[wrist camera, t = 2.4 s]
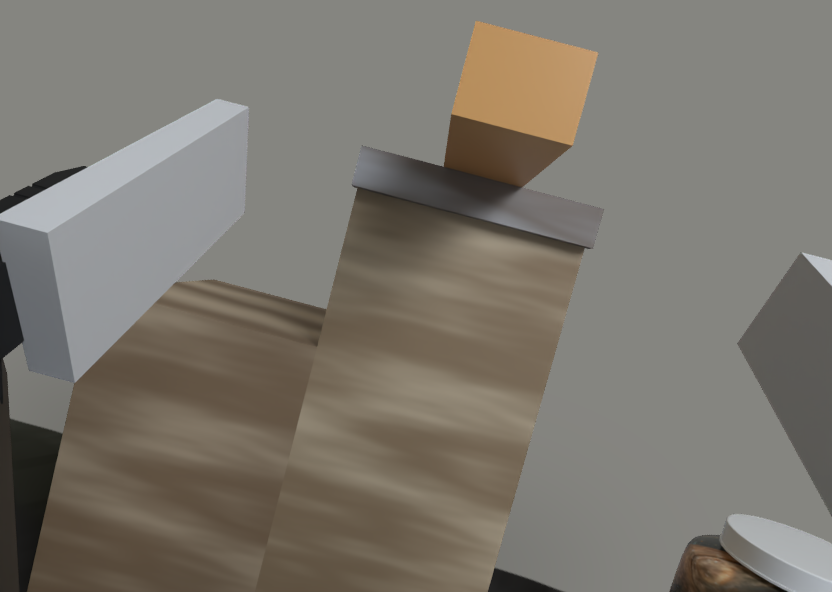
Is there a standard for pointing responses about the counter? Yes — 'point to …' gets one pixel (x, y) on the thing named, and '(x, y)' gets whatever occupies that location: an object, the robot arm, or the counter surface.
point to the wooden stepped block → (326, 407)
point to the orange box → (516, 104)
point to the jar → (755, 559)
